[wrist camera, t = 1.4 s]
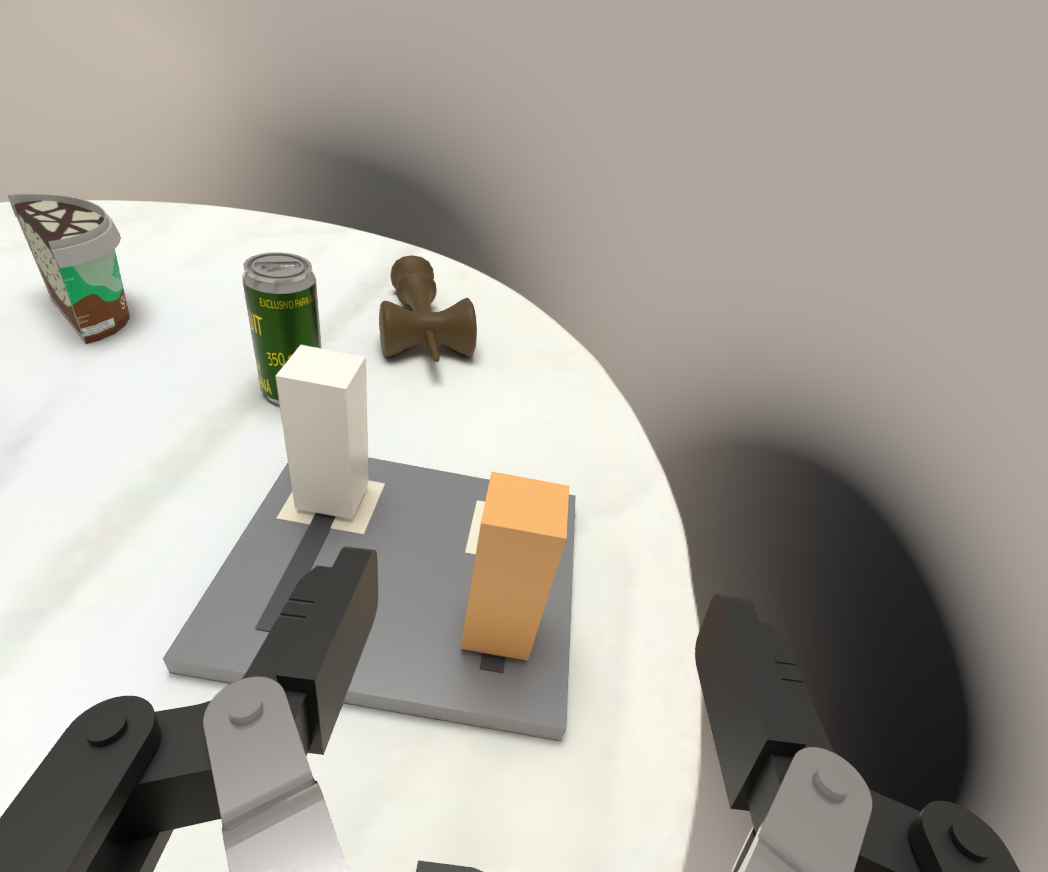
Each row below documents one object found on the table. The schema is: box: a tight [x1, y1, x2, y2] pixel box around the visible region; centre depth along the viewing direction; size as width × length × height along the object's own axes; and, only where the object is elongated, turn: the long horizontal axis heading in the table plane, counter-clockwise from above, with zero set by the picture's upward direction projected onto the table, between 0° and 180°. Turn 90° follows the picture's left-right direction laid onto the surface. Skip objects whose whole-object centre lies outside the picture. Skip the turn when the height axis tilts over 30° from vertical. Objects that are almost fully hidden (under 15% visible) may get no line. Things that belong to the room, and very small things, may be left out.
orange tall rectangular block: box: [460, 472, 569, 661], centre depth 31 cm, size 4×4×11 cm
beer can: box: [242, 253, 321, 405], centre depth 48 cm, size 5×5×12 cm
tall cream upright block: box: [276, 345, 369, 519], centre depth 37 cm, size 4×4×11 cm
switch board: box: [163, 458, 575, 741], centre depth 38 cm, size 18×22×2 cm
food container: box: [8, 194, 129, 344], centre depth 53 cm, size 12×6×10 cm, turn 46°
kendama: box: [379, 255, 477, 362], centre depth 61 cm, size 6×10×20 cm
